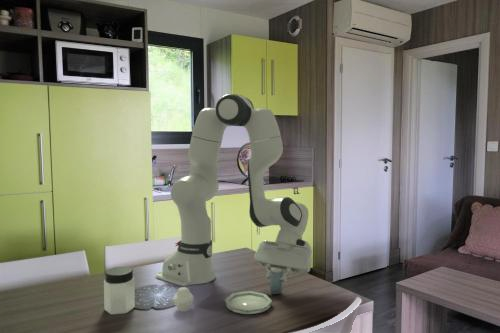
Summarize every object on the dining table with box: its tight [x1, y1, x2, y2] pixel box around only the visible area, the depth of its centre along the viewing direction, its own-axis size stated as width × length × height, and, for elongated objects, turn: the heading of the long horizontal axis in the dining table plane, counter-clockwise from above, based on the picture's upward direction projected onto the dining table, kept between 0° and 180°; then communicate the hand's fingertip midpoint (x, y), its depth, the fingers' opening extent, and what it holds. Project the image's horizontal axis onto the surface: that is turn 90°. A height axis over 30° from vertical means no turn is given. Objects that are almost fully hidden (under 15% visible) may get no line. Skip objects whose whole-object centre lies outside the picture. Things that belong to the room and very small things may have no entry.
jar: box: [103, 266, 136, 315], centre depth 122 cm, size 9×8×12 cm
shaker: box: [269, 267, 283, 295], centre depth 134 cm, size 4×4×8 cm
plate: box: [224, 290, 273, 315], centre depth 126 cm, size 14×14×2 cm
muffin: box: [172, 286, 194, 312], centre depth 122 cm, size 6×6×7 cm
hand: (275, 279), depth 134 cm, fingers closed on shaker, 4 cm apart
